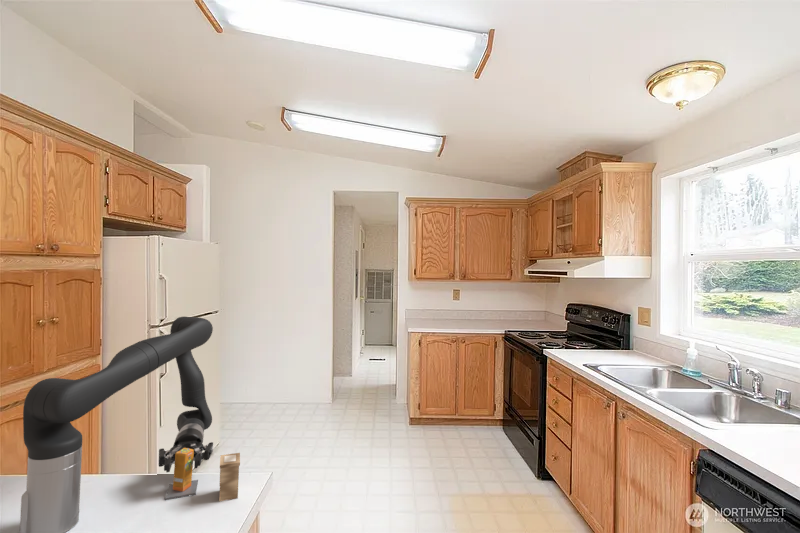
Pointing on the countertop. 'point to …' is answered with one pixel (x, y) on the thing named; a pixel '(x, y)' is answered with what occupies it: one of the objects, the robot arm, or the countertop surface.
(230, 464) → the box
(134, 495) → the countertop surface
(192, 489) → the coaster
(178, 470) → the supplement box
